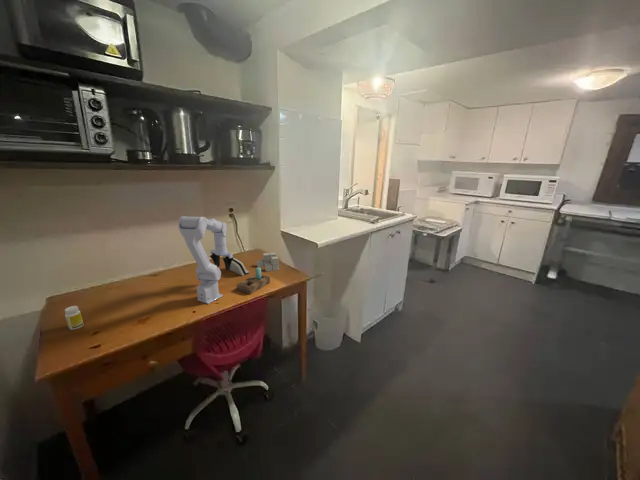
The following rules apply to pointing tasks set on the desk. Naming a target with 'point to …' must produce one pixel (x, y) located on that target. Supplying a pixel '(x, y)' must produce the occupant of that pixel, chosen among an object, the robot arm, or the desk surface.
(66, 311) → the supplement bottle
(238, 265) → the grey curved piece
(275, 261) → the puzzle cube
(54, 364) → the desk surface
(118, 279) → the desk surface
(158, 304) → the desk surface
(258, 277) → the peg
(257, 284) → the hole block
